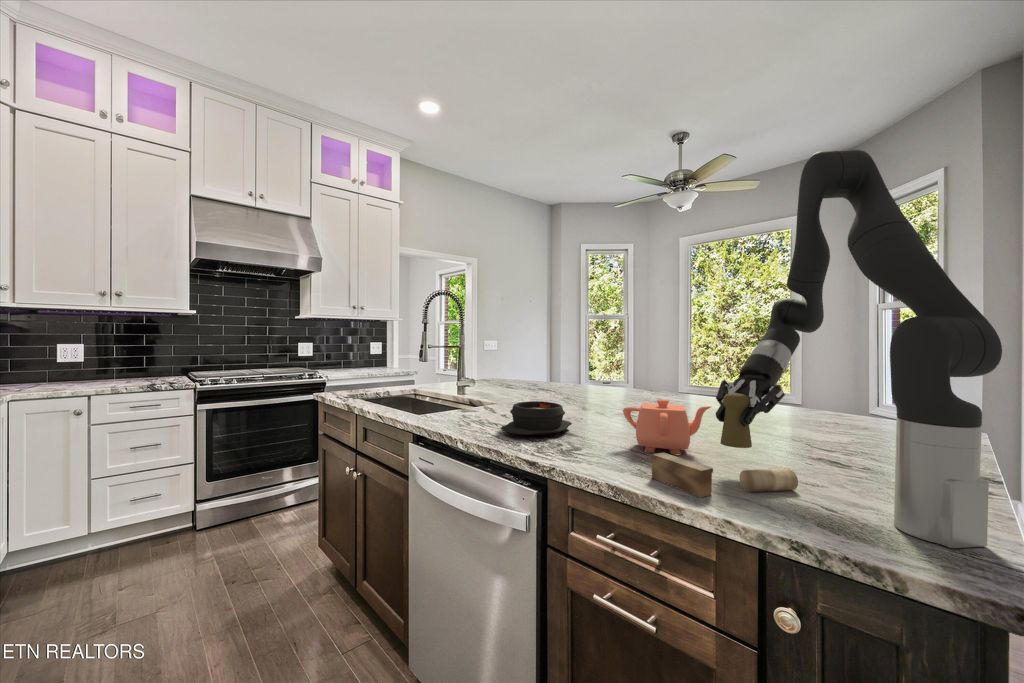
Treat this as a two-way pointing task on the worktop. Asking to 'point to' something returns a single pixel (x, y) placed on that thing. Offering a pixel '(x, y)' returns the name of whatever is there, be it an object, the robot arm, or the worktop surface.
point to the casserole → (536, 418)
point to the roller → (768, 480)
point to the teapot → (664, 425)
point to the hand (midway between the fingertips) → (730, 421)
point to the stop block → (682, 474)
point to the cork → (735, 422)
